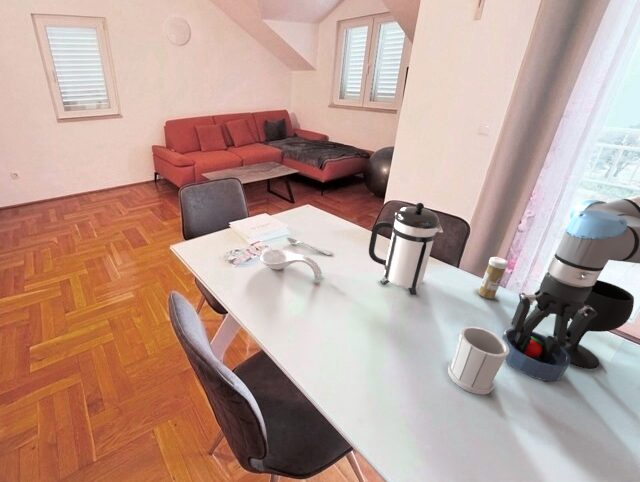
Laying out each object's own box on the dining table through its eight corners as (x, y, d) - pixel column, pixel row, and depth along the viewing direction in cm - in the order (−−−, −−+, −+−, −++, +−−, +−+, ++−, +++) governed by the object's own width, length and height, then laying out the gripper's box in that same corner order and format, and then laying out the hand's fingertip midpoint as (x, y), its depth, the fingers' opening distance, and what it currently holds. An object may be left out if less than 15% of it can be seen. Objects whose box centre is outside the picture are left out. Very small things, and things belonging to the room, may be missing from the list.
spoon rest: (254, 267, 119) (254, 250, 116) (269, 254, 128) (270, 238, 125) (313, 288, 106) (315, 270, 104) (325, 272, 115) (327, 256, 113)
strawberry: (528, 359, 80) (542, 344, 79) (537, 364, 76) (551, 348, 76) (511, 347, 81) (524, 332, 81) (518, 351, 78) (532, 335, 77)
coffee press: (409, 269, 118) (428, 193, 106) (434, 295, 103) (459, 211, 91) (363, 269, 117) (377, 194, 105) (382, 296, 103) (401, 212, 91)
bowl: (547, 350, 82) (555, 336, 80) (572, 389, 72) (581, 373, 70) (491, 337, 86) (497, 323, 84) (507, 372, 76) (514, 357, 74)
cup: (446, 353, 81) (459, 317, 76) (489, 368, 77) (506, 331, 72) (447, 384, 73) (461, 345, 68) (495, 403, 68) (514, 363, 64)
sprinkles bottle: (491, 301, 100) (505, 265, 95) (475, 294, 104) (488, 259, 99) (496, 296, 103) (510, 260, 98) (480, 289, 106) (493, 254, 101)
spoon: (288, 239, 140) (288, 236, 139) (332, 252, 129) (333, 249, 128) (284, 242, 137) (284, 239, 136) (329, 257, 126) (329, 253, 125)
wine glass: (543, 353, 81) (575, 290, 73) (544, 332, 88) (574, 271, 80) (601, 377, 75) (644, 310, 67) (597, 351, 82) (635, 288, 74)
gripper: (527, 279, 69) (493, 357, 78) (634, 298, 63) (583, 380, 72) (515, 262, 75) (484, 336, 84) (610, 278, 69) (566, 356, 79)
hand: (530, 356), depth 78 cm, fingers closed on strawberry, 4 cm apart
